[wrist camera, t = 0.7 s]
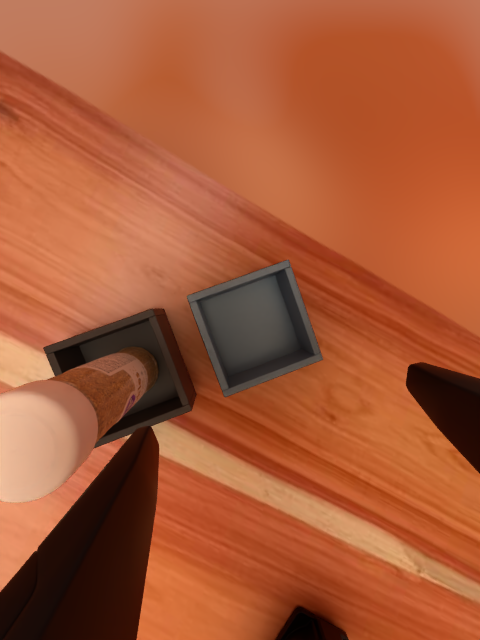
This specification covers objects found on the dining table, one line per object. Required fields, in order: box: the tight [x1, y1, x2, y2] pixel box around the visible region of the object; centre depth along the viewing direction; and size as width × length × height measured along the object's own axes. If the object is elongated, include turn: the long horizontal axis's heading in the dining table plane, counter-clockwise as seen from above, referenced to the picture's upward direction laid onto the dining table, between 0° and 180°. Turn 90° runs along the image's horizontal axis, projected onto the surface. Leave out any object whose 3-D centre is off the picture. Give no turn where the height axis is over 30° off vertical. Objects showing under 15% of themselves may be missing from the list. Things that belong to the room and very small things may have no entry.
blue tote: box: [187, 260, 323, 397], centre depth 22 cm, size 9×9×4 cm
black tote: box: [43, 309, 196, 449], centre depth 21 cm, size 9×9×4 cm
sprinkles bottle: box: [0, 347, 158, 503], centre depth 16 cm, size 5×5×13 cm
